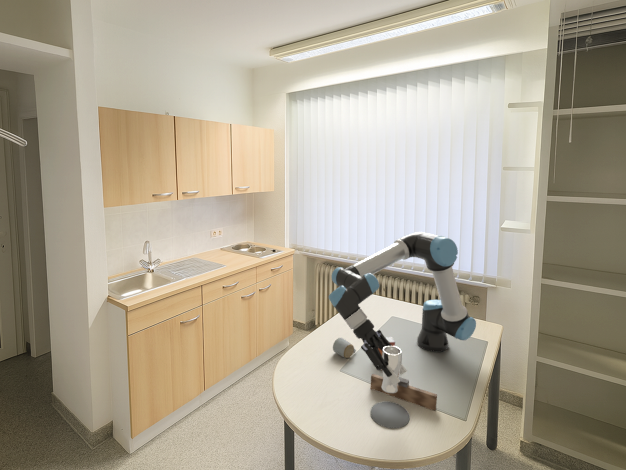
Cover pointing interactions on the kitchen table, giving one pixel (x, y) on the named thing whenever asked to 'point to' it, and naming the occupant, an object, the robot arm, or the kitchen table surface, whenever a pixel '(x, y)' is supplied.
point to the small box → (389, 342)
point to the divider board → (407, 392)
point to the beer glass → (394, 361)
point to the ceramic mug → (343, 348)
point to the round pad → (389, 414)
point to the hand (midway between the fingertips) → (400, 377)
